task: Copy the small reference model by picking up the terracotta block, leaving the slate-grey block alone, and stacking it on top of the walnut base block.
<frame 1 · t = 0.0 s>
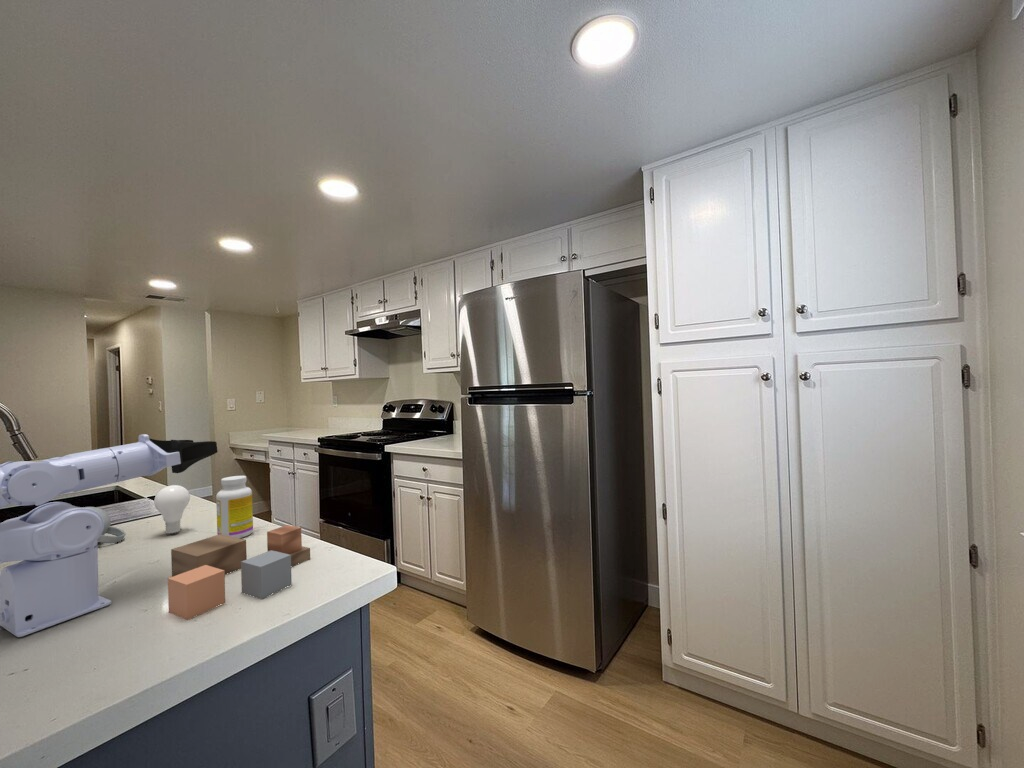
hand: (204, 446, 79), 22 cm above the counter, tool horizontal, fingers open, 7 cm apart
grey block: (267, 589, 68), on the counter
terracotta block: (197, 608, 62), on the counter
lightbulb: (173, 534, 95), on the counter
walnut base: (210, 572, 75), on the counter
ceramic mug: (90, 546, 90), on the counter
supplement bottle: (235, 536, 93), on the counter
reference model: (285, 562, 78), on the counter
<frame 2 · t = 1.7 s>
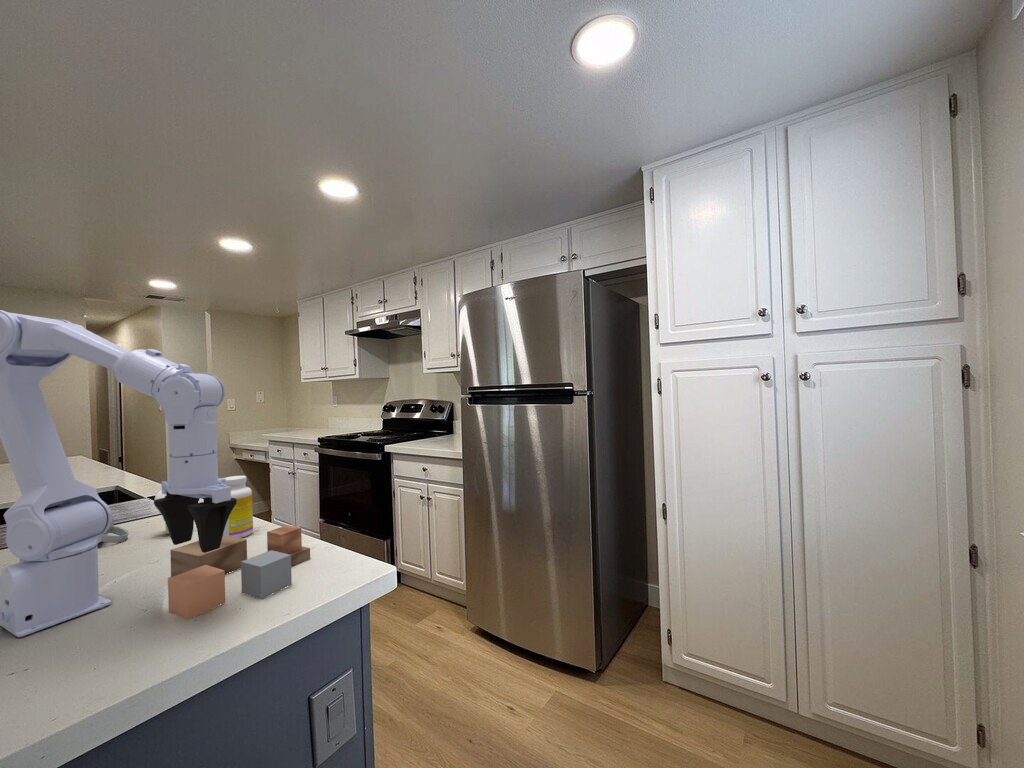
hand: (196, 546, 62), 9 cm above the counter, tool pointing down, fingers open, 7 cm apart
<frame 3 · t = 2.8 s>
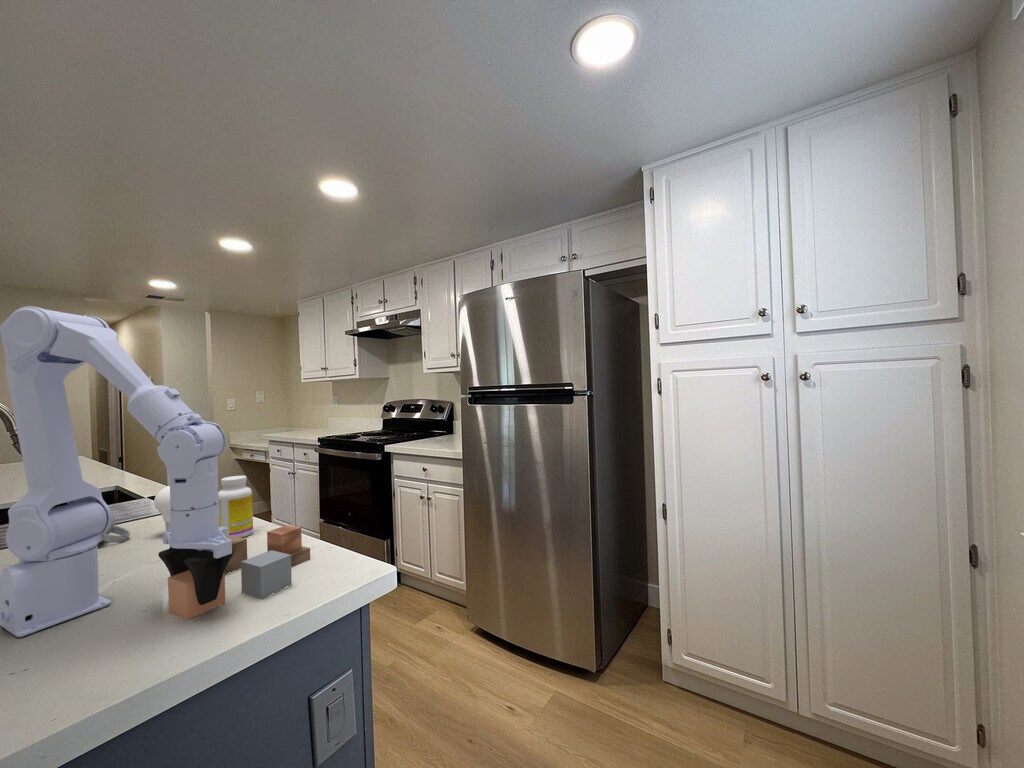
hand: (197, 597, 62), 1 cm above the counter, tool pointing down, fingers closed on terracotta block, 5 cm apart
terracotta block: (197, 607, 62), on the counter, touching gripper
everything else where it was.
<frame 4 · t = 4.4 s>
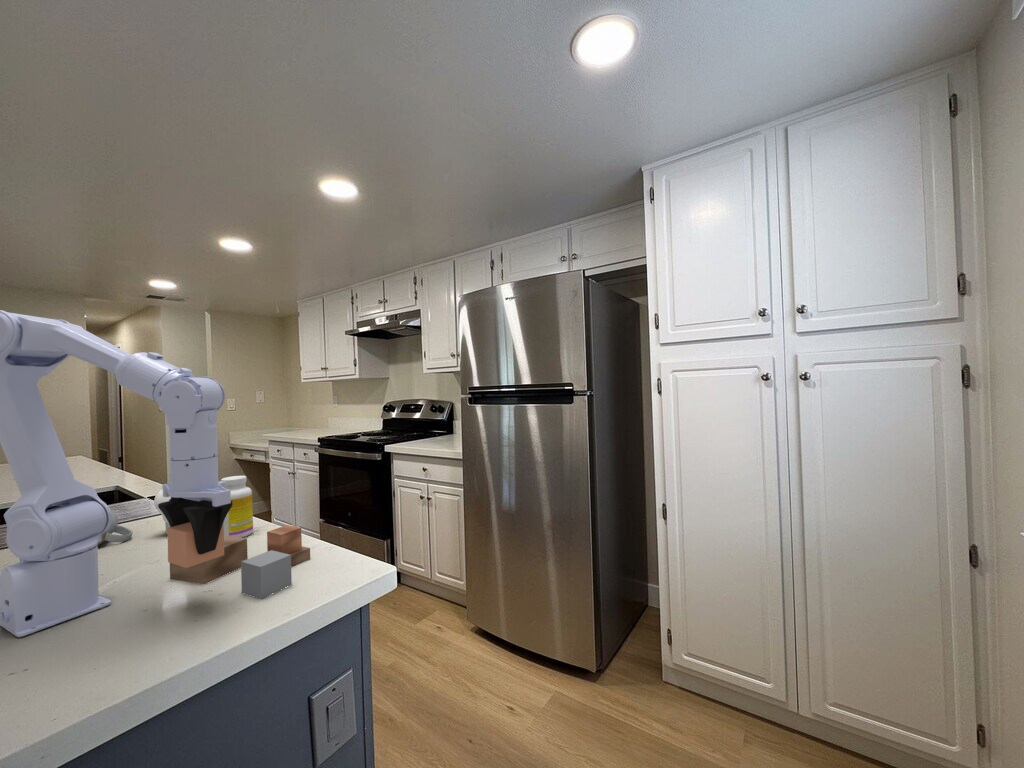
hand: (196, 548, 63), 8 cm above the counter, tool pointing down, fingers closed on terracotta block, 5 cm apart
terracotta block: (196, 558, 63), point 7 cm above the counter, touching gripper
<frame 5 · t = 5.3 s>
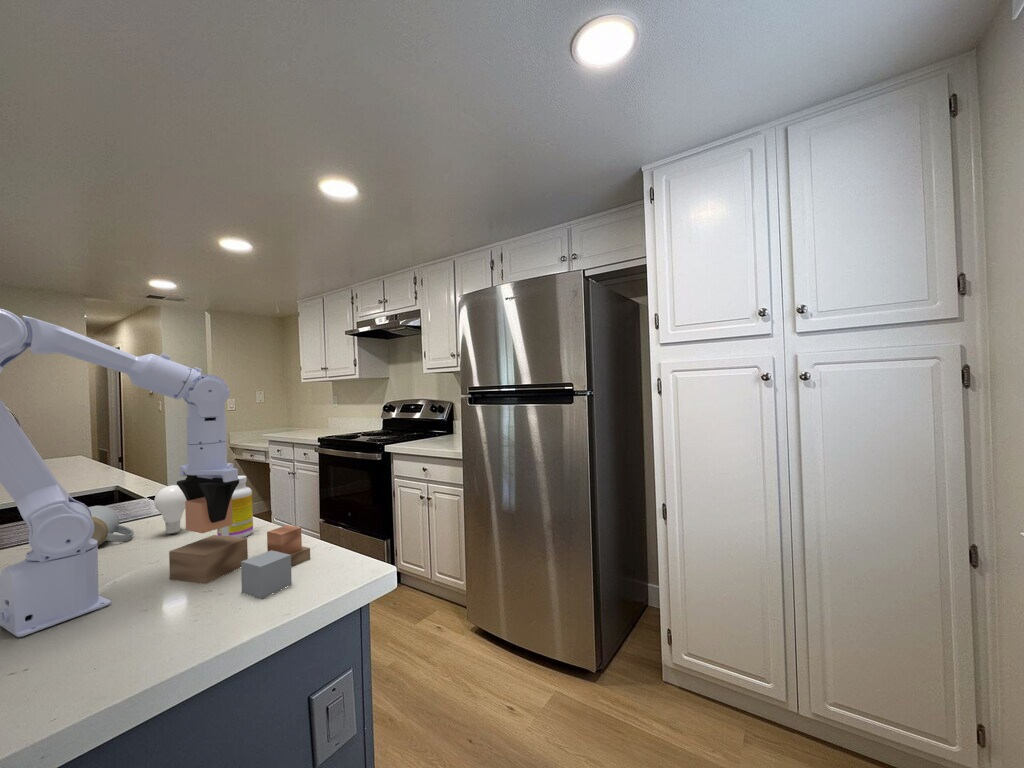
hand: (209, 519, 75), 9 cm above the counter, tool pointing down, fingers closed on terracotta block, 5 cm apart
terracotta block: (209, 527, 75), point 8 cm above the counter, touching gripper
when the fingers open (7 cm above the counter, at t = 6.1 s): terracotta block drops 1 cm, resting on walnut base.
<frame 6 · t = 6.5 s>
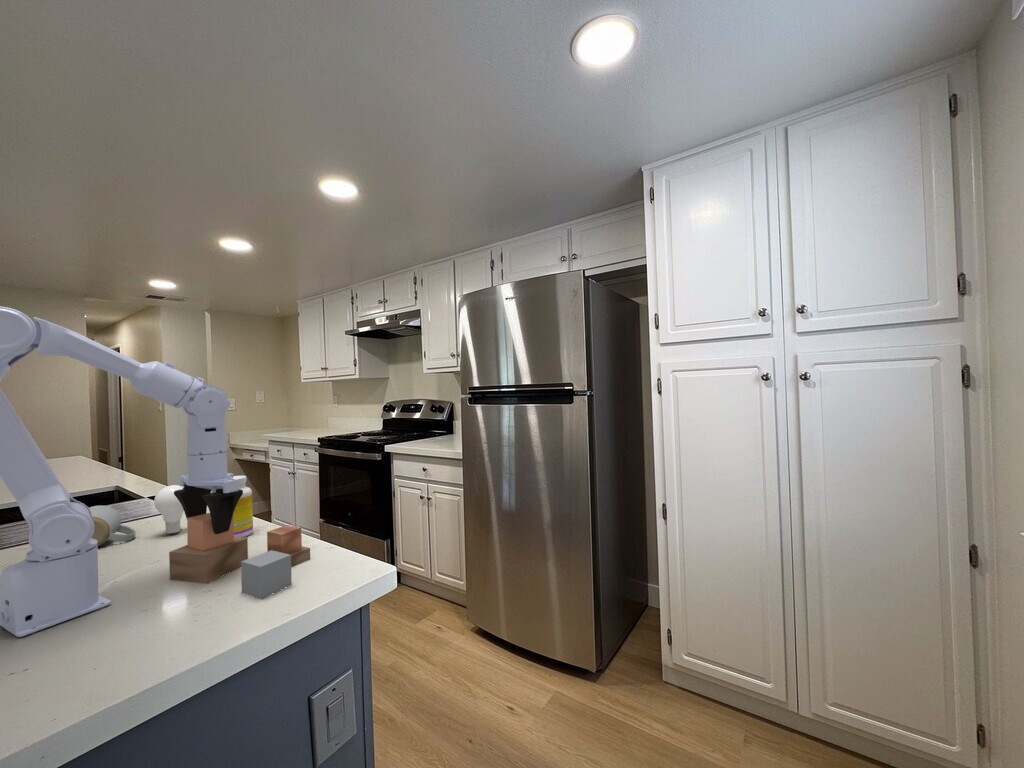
hand: (209, 529, 75), 7 cm above the counter, tool pointing down, fingers open, 7 cm apart
terracotta block: (211, 544, 75), point 5 cm above the counter, touching walnut base
walnut base: (210, 572, 75), on the counter, touching terracotta block
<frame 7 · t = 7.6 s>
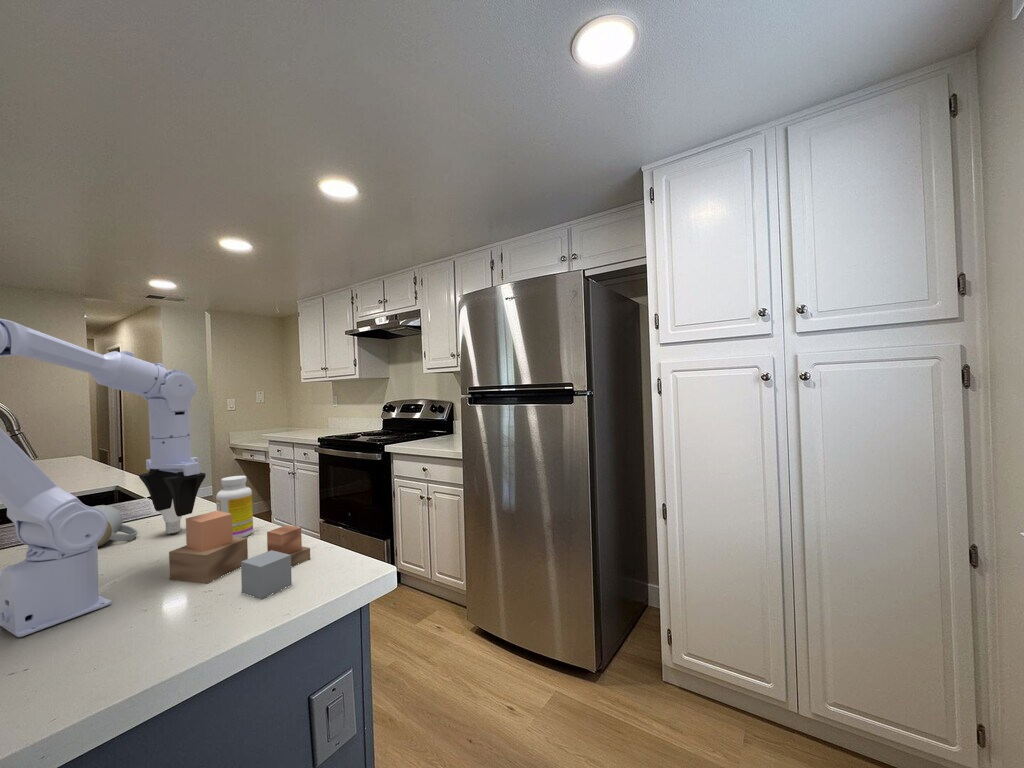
hand: (173, 512, 76), 10 cm above the counter, tool pointing down, fingers open, 7 cm apart
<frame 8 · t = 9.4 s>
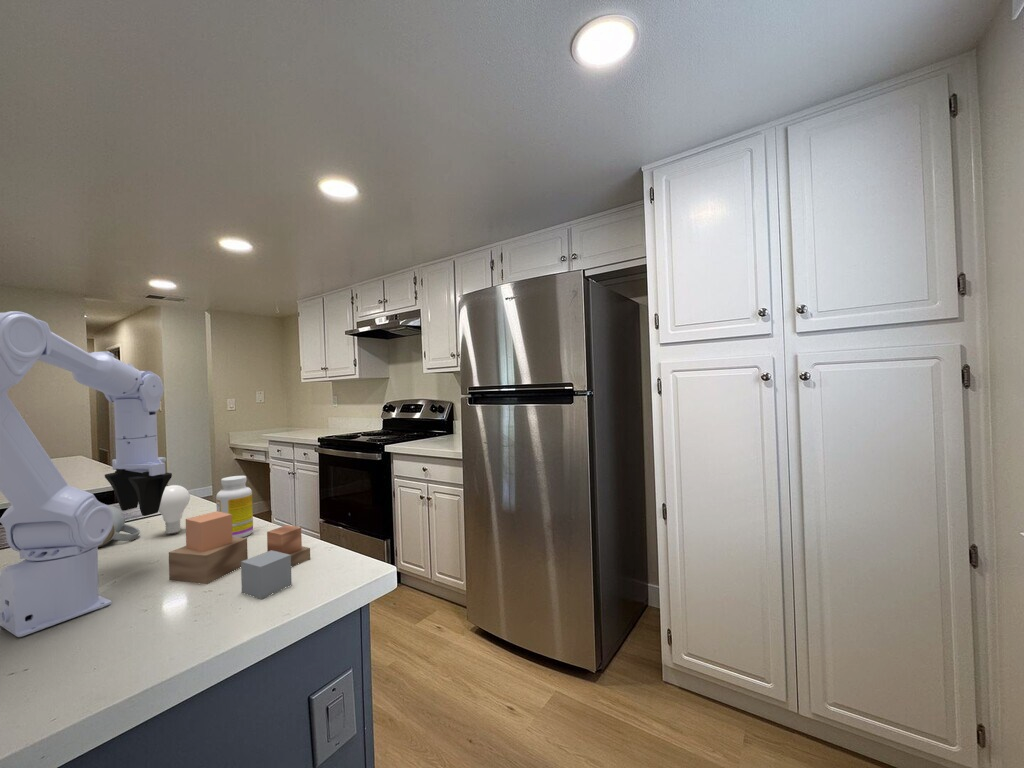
hand: (139, 511, 77), 10 cm above the counter, tool pointing down, fingers open, 7 cm apart
at the end: terracotta block 0.0 cm off-centre on the walnut base, point 5.0 cm above the walnut base's base; terracotta block tilted 0°; grey block moved 0.1 cm from its start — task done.
